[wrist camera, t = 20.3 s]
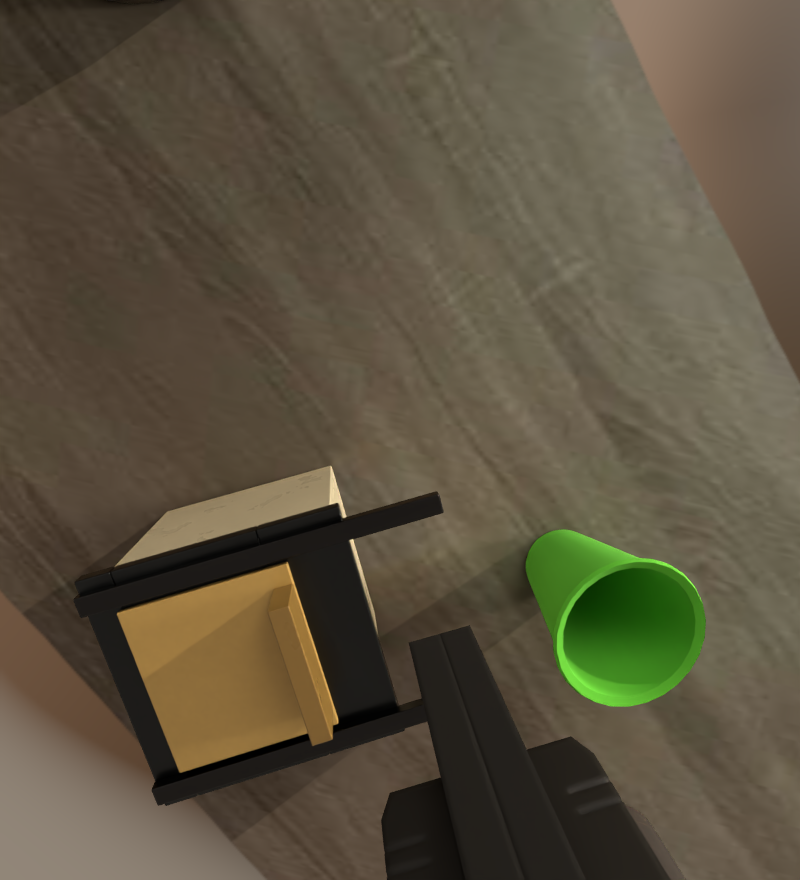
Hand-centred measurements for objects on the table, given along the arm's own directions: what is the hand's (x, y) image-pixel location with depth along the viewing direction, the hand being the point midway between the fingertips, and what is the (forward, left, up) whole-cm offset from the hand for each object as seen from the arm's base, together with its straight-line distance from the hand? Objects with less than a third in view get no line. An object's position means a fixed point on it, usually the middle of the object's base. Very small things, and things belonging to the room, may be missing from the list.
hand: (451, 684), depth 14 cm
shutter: (+6, -10, -14) cm, 18 cm away
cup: (+12, +11, -27) cm, 31 cm away
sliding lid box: (+6, -6, -27) cm, 28 cm away
